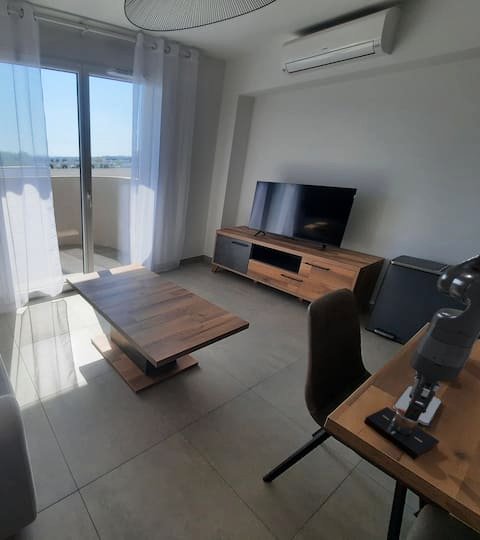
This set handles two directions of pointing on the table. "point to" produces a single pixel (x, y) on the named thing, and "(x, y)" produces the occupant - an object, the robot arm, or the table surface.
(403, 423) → the dial
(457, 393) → the table surface
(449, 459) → the table surface
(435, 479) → the table surface
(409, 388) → the smartphone
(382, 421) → the dial panel
